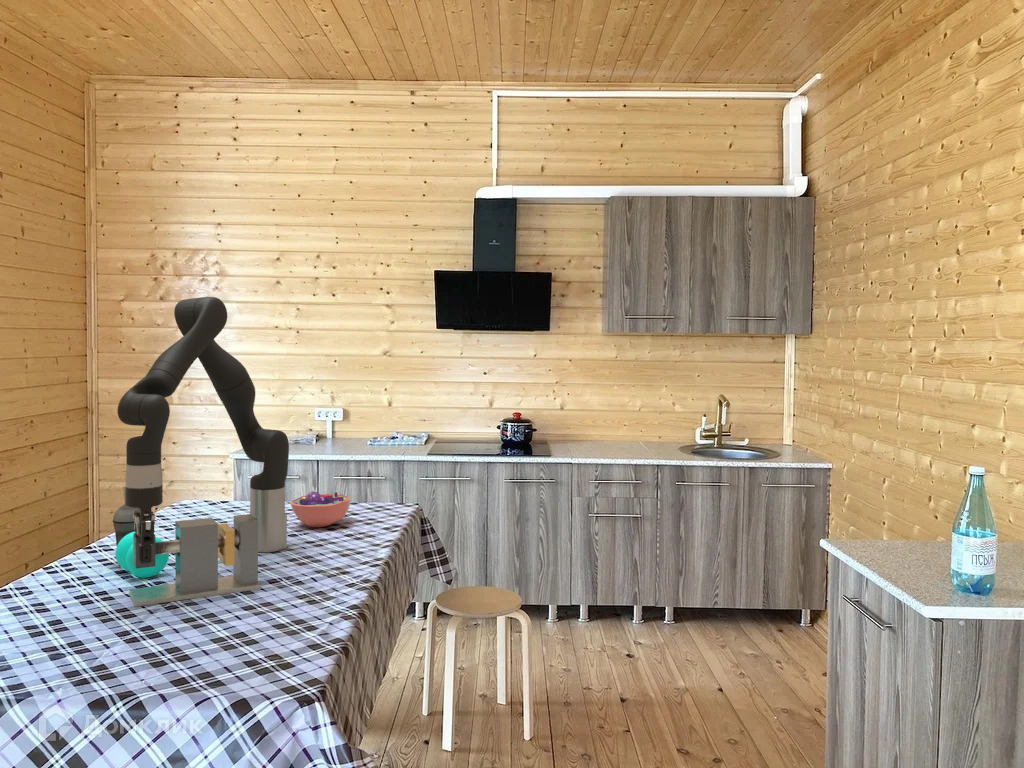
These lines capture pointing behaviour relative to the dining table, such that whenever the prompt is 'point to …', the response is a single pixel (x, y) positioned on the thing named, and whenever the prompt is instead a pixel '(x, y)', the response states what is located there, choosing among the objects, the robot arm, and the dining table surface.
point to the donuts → (126, 558)
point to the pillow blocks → (206, 563)
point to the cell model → (320, 508)
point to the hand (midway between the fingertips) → (144, 559)
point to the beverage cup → (123, 521)
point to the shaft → (165, 548)
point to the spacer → (226, 544)
